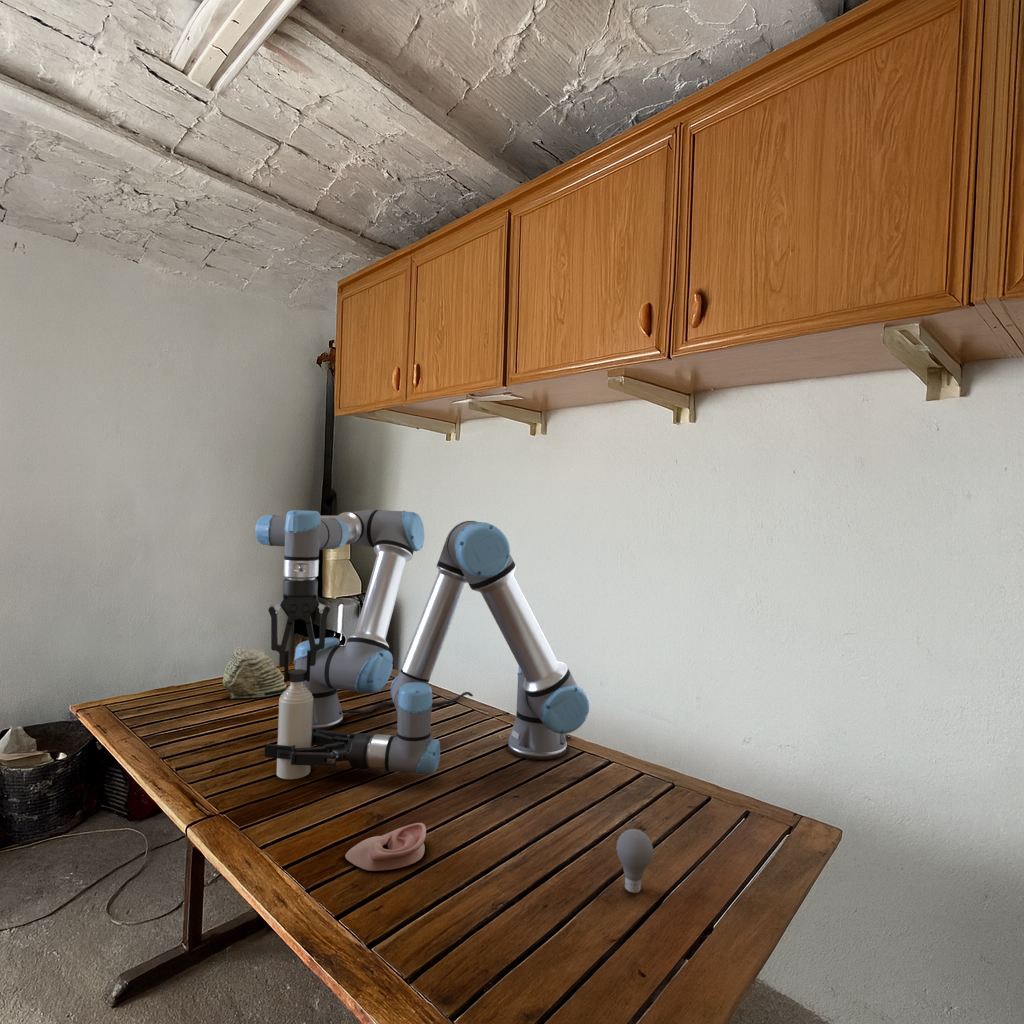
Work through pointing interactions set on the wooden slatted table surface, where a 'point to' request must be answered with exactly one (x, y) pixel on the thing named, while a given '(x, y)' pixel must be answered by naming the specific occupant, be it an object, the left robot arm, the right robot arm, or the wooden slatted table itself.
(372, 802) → the wooden slatted table surface
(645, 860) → the light bulb
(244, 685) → the fossil
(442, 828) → the wooden slatted table surface
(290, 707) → the bottle
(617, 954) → the wooden slatted table surface
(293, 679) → the cap
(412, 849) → the anatomical model
